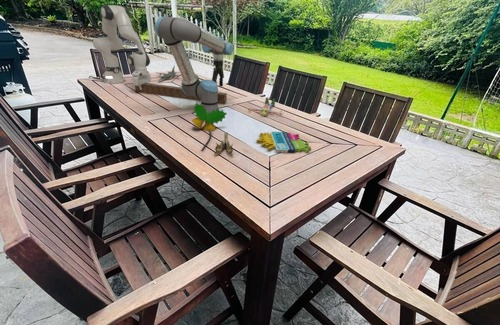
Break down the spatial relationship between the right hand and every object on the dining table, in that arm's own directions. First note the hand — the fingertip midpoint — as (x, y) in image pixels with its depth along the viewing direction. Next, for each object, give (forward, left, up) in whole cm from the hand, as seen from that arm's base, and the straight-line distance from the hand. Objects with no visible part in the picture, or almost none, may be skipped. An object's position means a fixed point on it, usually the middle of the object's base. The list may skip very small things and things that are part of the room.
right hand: (218, 88), depth 209 cm
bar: (+17, +30, -12) cm, 36 cm away
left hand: (+34, +59, -9) cm, 69 cm away
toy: (-25, -34, -12) cm, 44 cm away
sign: (-82, -24, -12) cm, 87 cm away
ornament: (-56, +15, -12) cm, 59 cm away
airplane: (+89, +38, -12) cm, 97 cm away
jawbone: (-88, +11, -12) cm, 90 cm away
